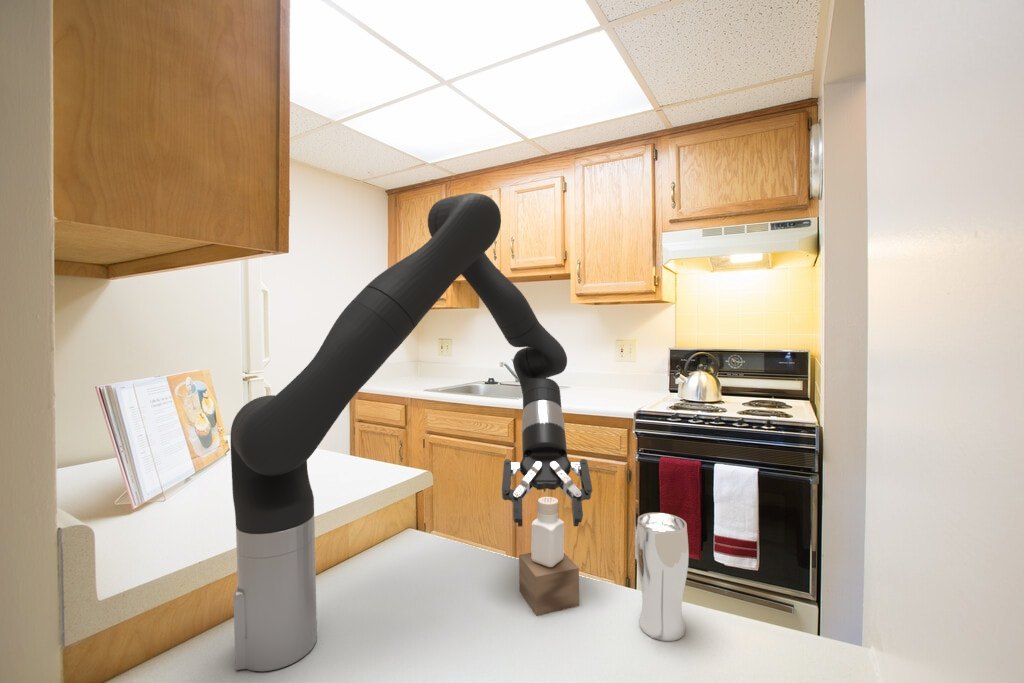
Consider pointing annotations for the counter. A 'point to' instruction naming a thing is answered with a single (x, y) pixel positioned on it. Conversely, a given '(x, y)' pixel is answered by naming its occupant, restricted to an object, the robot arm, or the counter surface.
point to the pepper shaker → (547, 534)
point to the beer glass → (662, 574)
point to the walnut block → (549, 585)
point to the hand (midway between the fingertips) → (548, 524)
